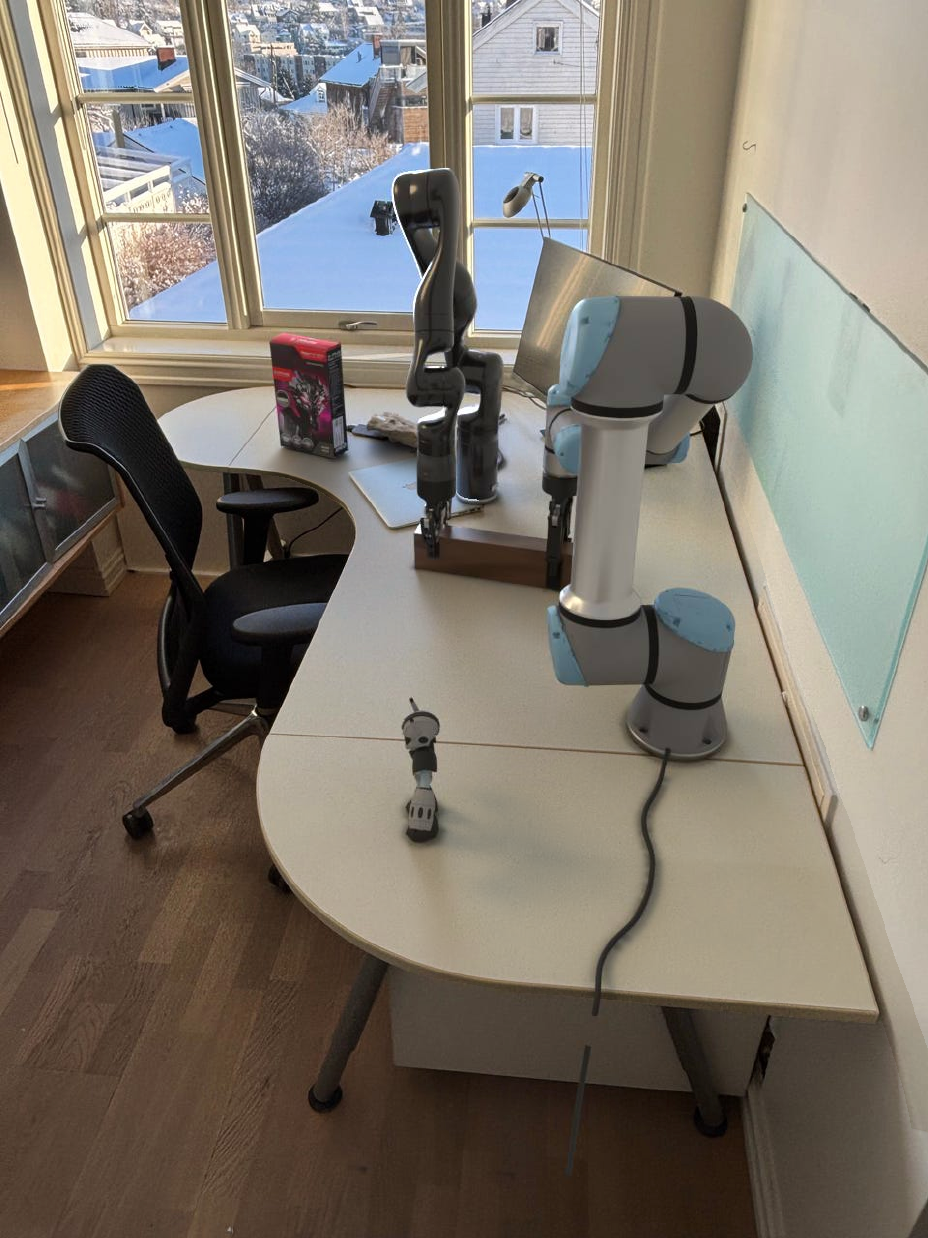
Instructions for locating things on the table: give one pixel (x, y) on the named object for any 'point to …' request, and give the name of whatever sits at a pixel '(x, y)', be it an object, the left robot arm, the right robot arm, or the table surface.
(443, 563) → the walnut beam
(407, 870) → the table surface
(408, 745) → the robot
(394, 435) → the stone
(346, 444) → the graphics card box
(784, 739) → the table surface
